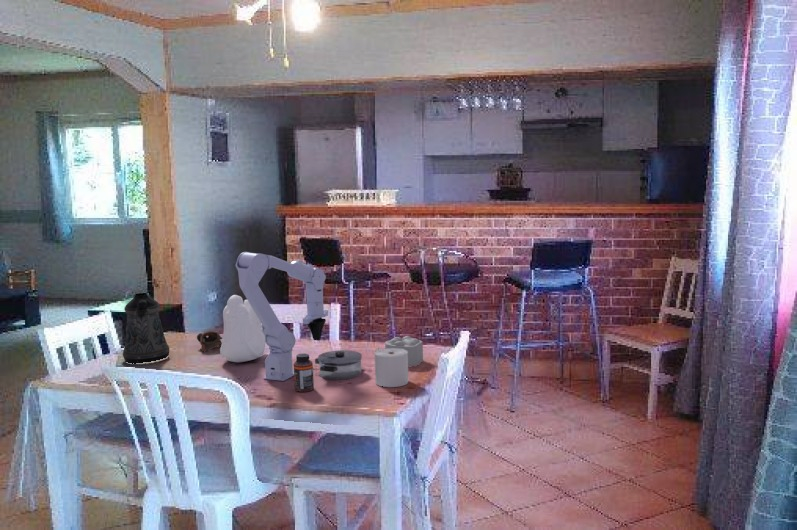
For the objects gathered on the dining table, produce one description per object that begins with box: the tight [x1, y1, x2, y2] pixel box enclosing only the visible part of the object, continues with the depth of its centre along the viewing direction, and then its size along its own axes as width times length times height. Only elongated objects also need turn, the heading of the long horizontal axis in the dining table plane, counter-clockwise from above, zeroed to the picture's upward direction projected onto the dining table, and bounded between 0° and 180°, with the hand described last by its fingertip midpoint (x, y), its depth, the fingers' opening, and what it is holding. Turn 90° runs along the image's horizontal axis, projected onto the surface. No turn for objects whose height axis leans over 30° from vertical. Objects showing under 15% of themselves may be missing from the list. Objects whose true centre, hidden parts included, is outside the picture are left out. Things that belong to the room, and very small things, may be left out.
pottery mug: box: [196, 330, 223, 352], centre depth 280 cm, size 12×10×8 cm
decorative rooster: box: [219, 294, 266, 363], centre depth 264 cm, size 25×16×25 cm, turn 155°
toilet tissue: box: [374, 347, 410, 388], centre depth 230 cm, size 11×12×10 cm
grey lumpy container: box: [384, 335, 424, 367], centre depth 253 cm, size 10×13×9 cm
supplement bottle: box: [293, 353, 315, 393], centre depth 225 cm, size 6×6×11 cm
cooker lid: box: [317, 349, 363, 365], centre depth 241 cm, size 15×15×2 cm
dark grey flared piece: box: [122, 292, 170, 364], centre depth 266 cm, size 16×19×25 cm
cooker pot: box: [314, 357, 362, 381], centre depth 242 cm, size 19×16×5 cm
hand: (316, 339), depth 250 cm, fingers closed
